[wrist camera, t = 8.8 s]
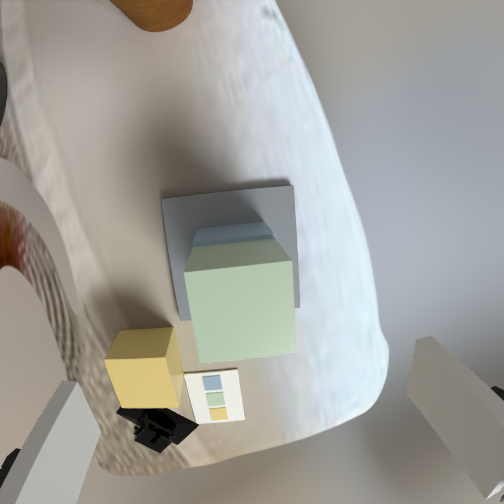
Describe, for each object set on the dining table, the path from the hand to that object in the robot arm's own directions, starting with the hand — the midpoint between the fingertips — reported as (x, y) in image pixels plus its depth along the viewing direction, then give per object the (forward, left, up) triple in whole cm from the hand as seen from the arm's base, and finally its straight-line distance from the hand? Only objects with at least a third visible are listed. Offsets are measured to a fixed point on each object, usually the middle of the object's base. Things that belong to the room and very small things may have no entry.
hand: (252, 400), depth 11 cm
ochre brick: (+10, -10, -21) cm, 25 cm away
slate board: (0, 0, -21) cm, 21 cm away
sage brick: (0, 0, -14) cm, 14 cm away
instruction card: (+17, -4, -21) cm, 27 cm away
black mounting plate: (+20, -12, -21) cm, 32 cm away
